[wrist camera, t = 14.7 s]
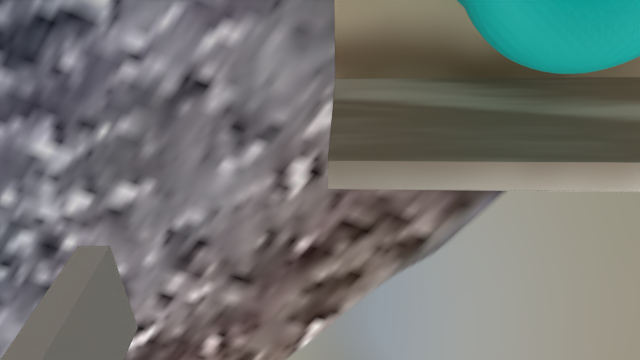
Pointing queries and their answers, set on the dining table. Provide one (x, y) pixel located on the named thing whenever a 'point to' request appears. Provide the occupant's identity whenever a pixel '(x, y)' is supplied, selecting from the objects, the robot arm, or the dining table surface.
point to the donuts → (560, 32)
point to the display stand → (470, 109)
